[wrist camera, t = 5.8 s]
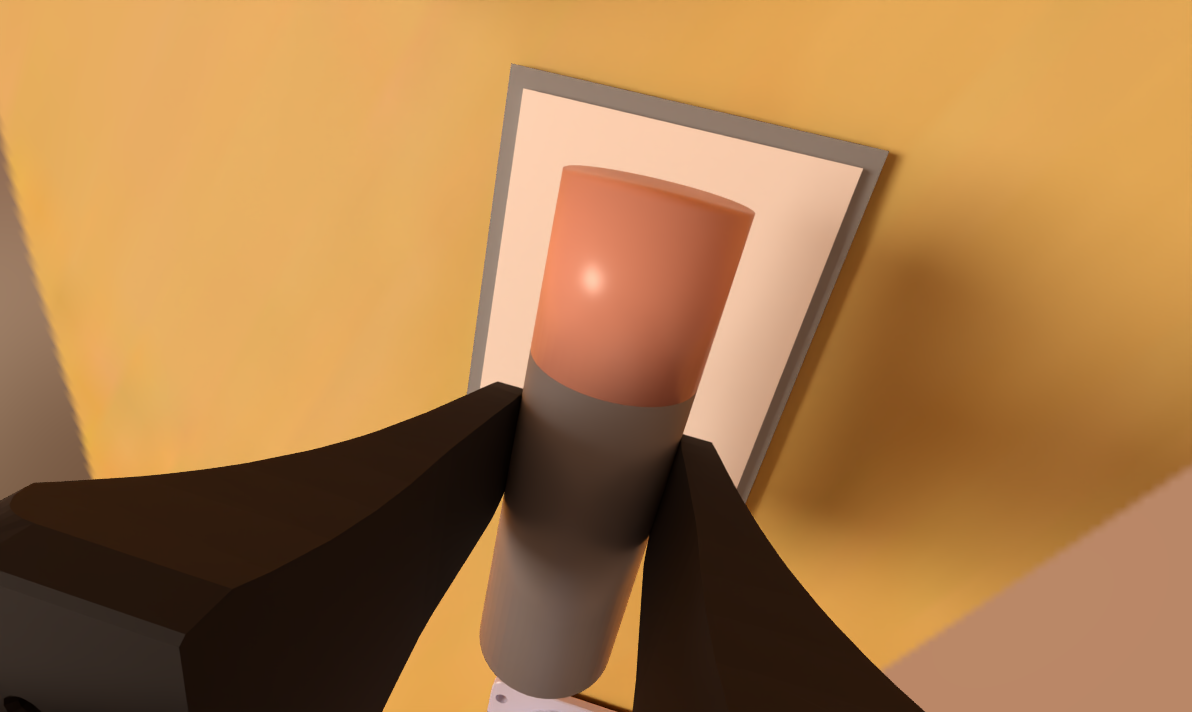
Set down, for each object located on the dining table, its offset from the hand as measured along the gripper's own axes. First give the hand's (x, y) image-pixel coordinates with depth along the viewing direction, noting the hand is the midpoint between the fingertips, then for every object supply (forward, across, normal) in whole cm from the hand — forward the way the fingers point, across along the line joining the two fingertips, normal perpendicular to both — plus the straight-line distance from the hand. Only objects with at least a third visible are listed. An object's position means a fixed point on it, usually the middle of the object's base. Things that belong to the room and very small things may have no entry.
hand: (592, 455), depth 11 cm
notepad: (+7, 0, 0) cm, 7 cm away
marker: (+1, 0, 0) cm, 1 cm away
